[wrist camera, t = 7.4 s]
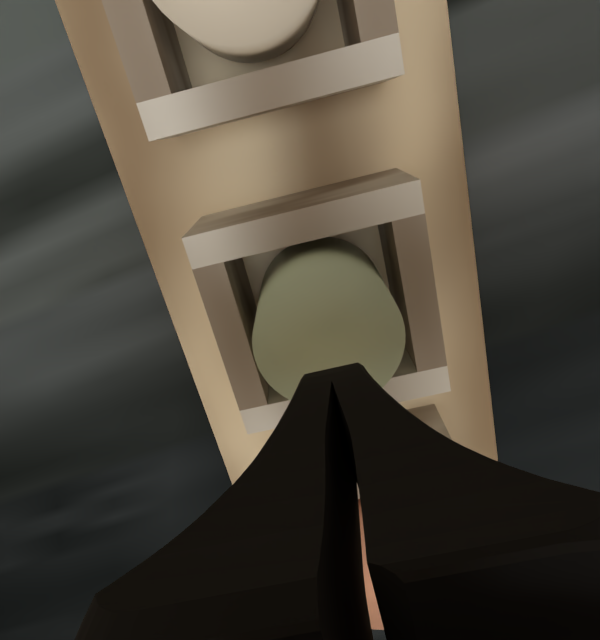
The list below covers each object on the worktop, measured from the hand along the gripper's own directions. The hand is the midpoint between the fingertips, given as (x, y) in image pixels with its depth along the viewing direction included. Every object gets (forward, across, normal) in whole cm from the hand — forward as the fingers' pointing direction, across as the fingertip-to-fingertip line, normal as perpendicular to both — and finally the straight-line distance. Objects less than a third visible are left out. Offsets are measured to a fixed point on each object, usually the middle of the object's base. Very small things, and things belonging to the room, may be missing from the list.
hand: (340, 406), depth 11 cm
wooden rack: (+9, 0, 0) cm, 9 cm away
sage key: (+7, 0, 0) cm, 7 cm away
